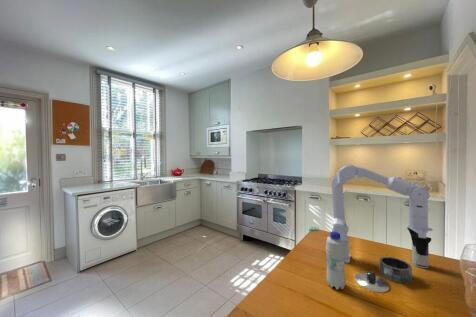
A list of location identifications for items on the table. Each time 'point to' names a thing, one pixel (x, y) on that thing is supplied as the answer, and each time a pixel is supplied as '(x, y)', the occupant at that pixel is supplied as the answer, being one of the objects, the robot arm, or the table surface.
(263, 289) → the table surface
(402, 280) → the pot
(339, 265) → the bottle
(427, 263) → the energy drink
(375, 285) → the lid
